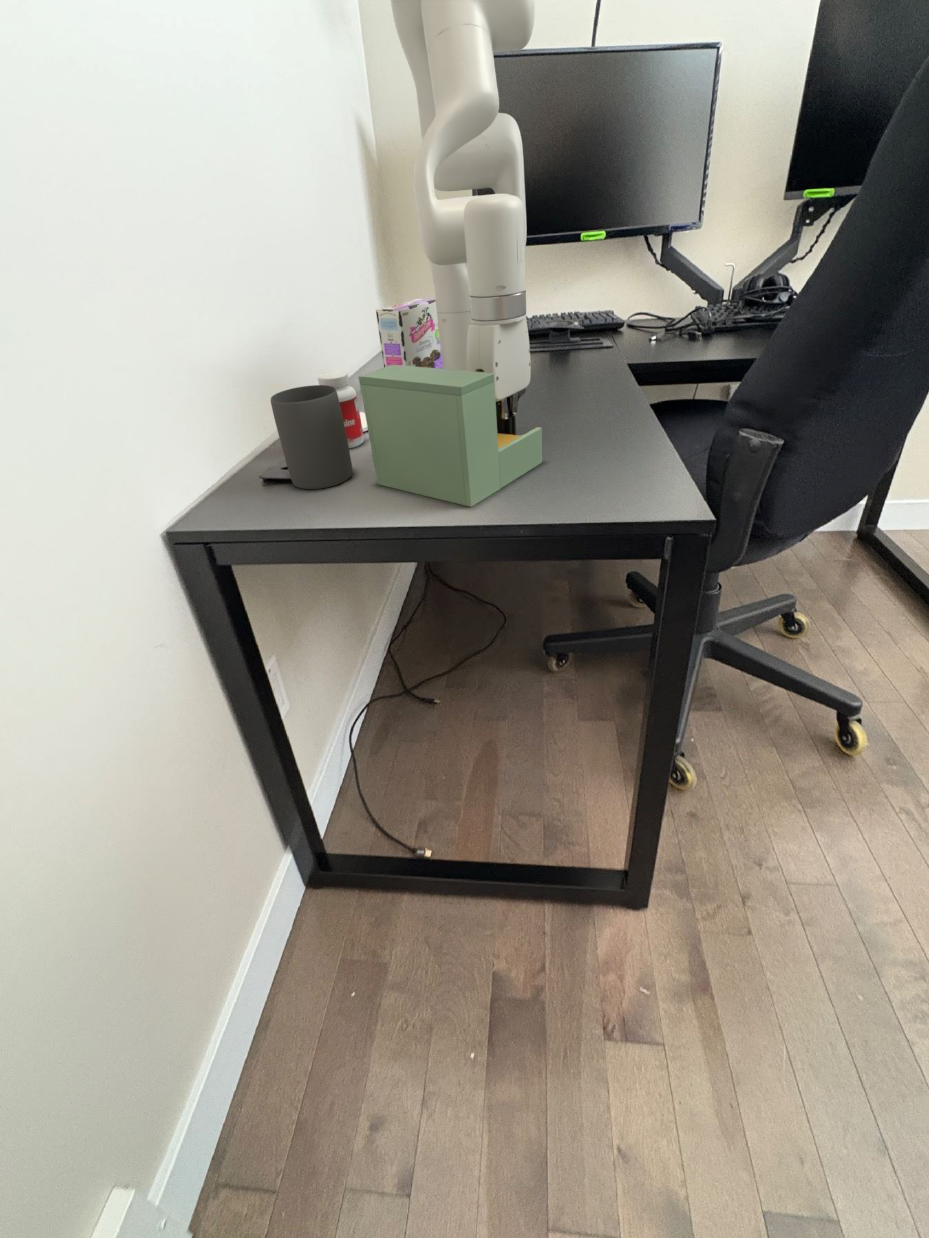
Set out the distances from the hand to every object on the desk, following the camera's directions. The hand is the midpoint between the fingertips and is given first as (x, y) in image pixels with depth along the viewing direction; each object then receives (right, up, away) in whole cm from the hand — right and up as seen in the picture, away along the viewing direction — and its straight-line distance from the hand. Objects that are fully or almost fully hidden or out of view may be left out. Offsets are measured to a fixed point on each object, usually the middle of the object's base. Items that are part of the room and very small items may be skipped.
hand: (504, 442), depth 91 cm
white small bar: (-27, +9, +19) cm, 34 cm away
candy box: (-16, +21, +34) cm, 43 cm away
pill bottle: (-26, +2, +9) cm, 28 cm away
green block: (-7, -6, -6) cm, 11 cm away
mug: (-28, -5, -1) cm, 29 cm away
